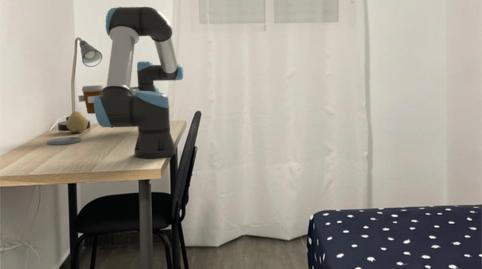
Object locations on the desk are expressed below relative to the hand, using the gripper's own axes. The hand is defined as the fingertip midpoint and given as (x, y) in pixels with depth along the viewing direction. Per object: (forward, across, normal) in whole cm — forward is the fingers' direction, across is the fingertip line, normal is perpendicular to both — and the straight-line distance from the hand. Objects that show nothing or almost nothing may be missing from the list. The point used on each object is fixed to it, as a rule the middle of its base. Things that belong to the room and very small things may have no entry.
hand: (83, 99), depth 206 cm
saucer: (+10, +1, -18) cm, 20 cm away
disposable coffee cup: (-5, 0, -7) cm, 8 cm away
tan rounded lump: (-5, +20, -18) cm, 28 cm away
